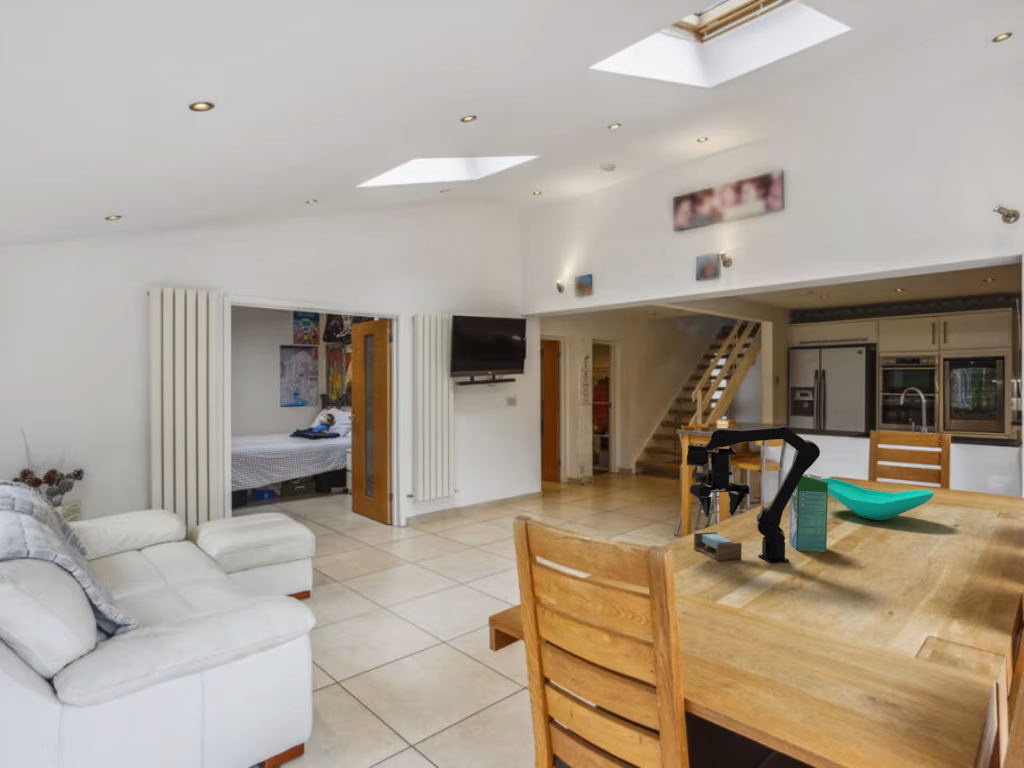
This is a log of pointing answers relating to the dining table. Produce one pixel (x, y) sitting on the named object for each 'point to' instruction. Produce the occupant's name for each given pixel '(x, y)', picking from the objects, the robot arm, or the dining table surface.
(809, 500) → the milk carton
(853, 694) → the dining table surface
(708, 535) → the block
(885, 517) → the table top decor
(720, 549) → the cradle
